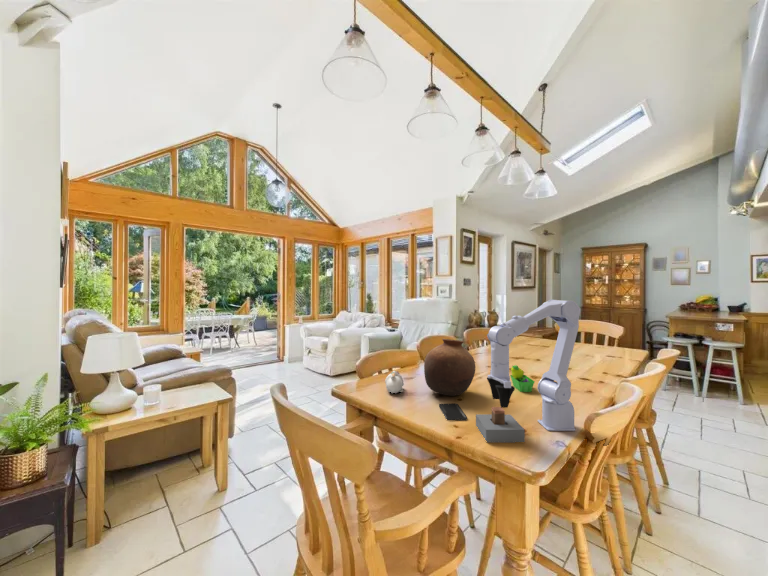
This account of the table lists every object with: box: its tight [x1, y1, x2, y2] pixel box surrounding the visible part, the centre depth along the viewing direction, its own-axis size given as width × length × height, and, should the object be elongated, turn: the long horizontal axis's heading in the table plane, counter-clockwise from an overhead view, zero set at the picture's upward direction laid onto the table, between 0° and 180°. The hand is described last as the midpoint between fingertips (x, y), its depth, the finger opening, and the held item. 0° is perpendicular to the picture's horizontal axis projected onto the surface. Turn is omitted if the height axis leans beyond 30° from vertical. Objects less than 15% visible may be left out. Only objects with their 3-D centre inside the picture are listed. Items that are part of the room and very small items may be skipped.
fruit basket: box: [509, 364, 536, 393], centre depth 154 cm, size 11×9×11 cm
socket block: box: [475, 413, 526, 443], centre depth 108 cm, size 12×12×4 cm
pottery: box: [423, 338, 476, 397], centre depth 148 cm, size 23×23×25 cm
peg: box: [491, 406, 506, 425], centre depth 108 cm, size 3×3×8 cm
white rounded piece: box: [384, 370, 405, 394], centre depth 152 cm, size 10×8×15 cm
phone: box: [438, 402, 468, 421], centre depth 126 cm, size 8×1×15 cm
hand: (500, 402), depth 109 cm, fingers open, 7 cm apart
